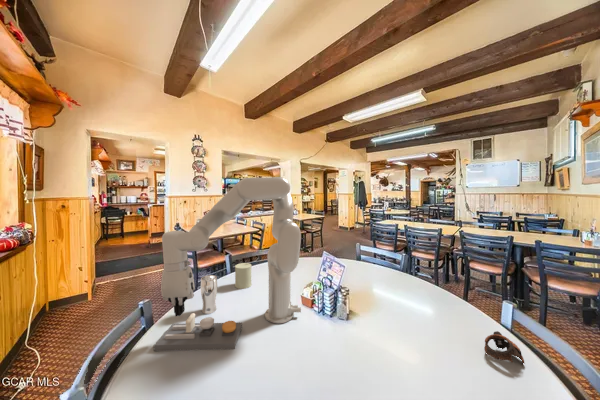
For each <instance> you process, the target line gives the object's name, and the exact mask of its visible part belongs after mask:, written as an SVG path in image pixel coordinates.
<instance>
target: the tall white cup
mask: <svg viewBox="0 0 600 400" xmlns="http://www.w3.org/2000/svg"><path fill="white" fill-rule="evenodd" d="M217 278H218V277H217V275H214V274H211V275H209V274H208V275H205V276H202V277H201V278H200V295H201V300H202V309H201V312H202V314H205V315H209V314H210V315H211V314H213V313H215V312H216V310H217V304H216V300H217V298H216V297H217V292H218V279H217Z"/></svg>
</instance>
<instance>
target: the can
mask: <svg viewBox="0 0 600 400" xmlns="http://www.w3.org/2000/svg"><path fill="white" fill-rule="evenodd" d="M234 274H235V275H234V277H235V283H234V284H235V285H234V288H236V289H239V290H240V289H241V290H246V289H249V288H251V286H252V285H253V284H252V264H251V263H248V262H241V263H238V264H235V265H234Z"/></svg>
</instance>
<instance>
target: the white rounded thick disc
mask: <svg viewBox="0 0 600 400" xmlns="http://www.w3.org/2000/svg"><path fill="white" fill-rule="evenodd" d="M199 323H200V328H201V329H206V330H207V329H209V328H211V327H212V326H213V325H214V323H215V318H214V317H211V316H208V317H204V318H202V319H201V320H200V321H199Z"/></svg>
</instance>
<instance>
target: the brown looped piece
mask: <svg viewBox="0 0 600 400" xmlns="http://www.w3.org/2000/svg"><path fill="white" fill-rule="evenodd" d="M491 340H493V342H494V343H495V346H496V348H497V347H498V348H497V349H499V348H502V349H501V350H503V349H506V350H503V351H501V350H500V351H499V350H496V349H493V348H492V347H490V345H489V342H490V341H491ZM484 352H485V354H486V353H487V354H488V355H487V356H489V357H492V358H493V359H495V360H500V361H508V362H511V363H514V361H513V358H512V356H513V357H516V356H517V357H519V358H520V359H521V360H522V362H523V363H524V364H525V359H524V357H523V355H522V351H521V349H520V347H518V345H517V344H516V343H515V342H513V341H511V339H509V338H508V337H506V336H504V335H502V333H501V332H500V331H498V330H497V331H494V332H493V334H490V335H487V337H485V339H484ZM517 357H516V358H517ZM519 358H518V359H519ZM520 359H519V360H520ZM521 360H520V361H521ZM522 362H521V363H522Z"/></svg>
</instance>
